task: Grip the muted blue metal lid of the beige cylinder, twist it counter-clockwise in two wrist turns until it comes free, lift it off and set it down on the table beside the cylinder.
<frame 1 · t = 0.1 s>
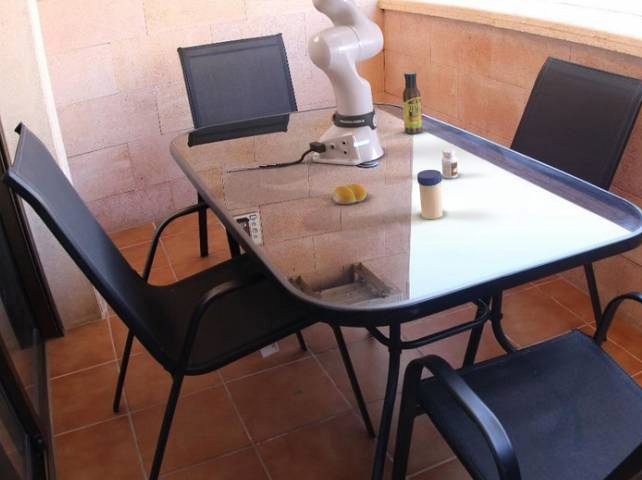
beige cylinder: (432, 214, 171), on the table
sauce bottle: (414, 132, 230), on the table
pill bottle: (450, 176, 193), on the table
bread roll: (349, 199, 182), on the table
lid: (429, 175, 165), point 11 cm above the table, screwed on, not yet turned
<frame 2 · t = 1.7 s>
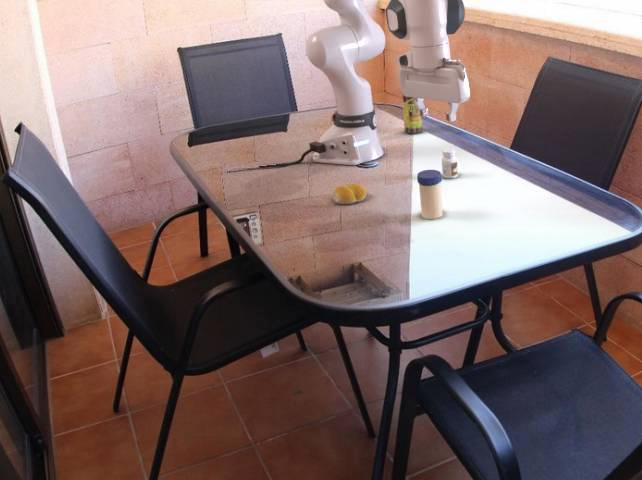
hand: (437, 118, 158), 25 cm above the table, tool pointing down, fingers open, 8 cm apart
nothing on the table moved.
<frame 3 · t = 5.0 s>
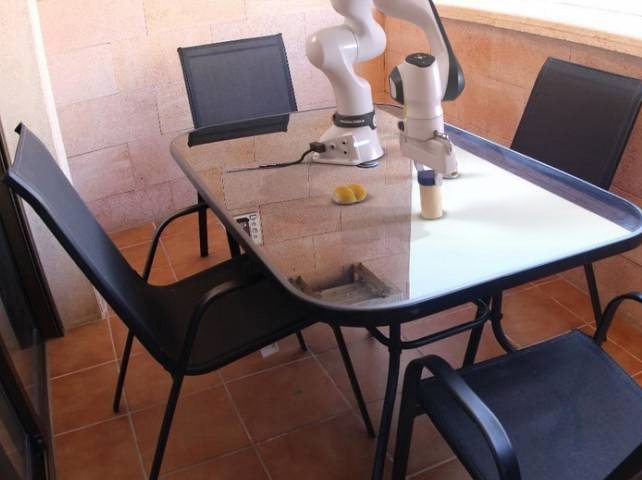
hand: (429, 181, 166), 9 cm above the table, tool pointing down, fingers closed on lid, 6 cm apart
lid: (429, 175, 165), point 11 cm above the table, screwed on, not yet turned, touching gripper
everything else where it was.
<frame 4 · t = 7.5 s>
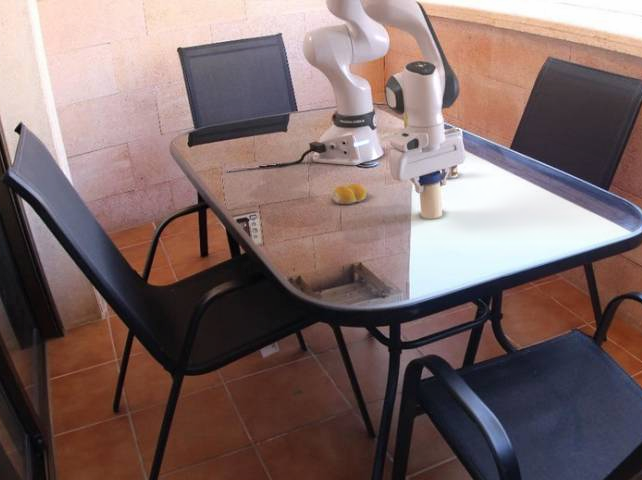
hand: (431, 188, 166), 7 cm above the table, tool pointing down, fingers closed on beige cylinder, 5 cm apart
beige cylinder: (431, 214, 171), on the table, touching gripper
lid: (428, 174, 165), point 11 cm above the table, turned 89° so far, risen 0.2 cm, still on its thread
everything else where it was.
when the fingers open (7 cm above the table, at t = 9.2 s): beige cylinder stays where it is, on the table.
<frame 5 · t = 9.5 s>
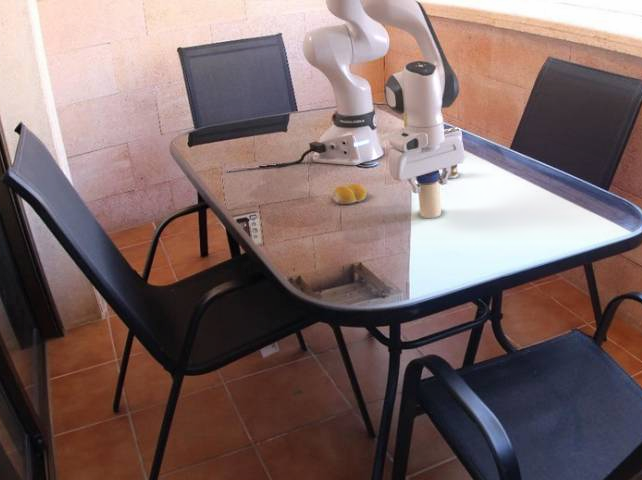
hand: (430, 188, 167), 7 cm above the table, tool pointing down, fingers open, 7 cm apart
beige cylinder: (430, 213, 171), on the table
everything else where it was.
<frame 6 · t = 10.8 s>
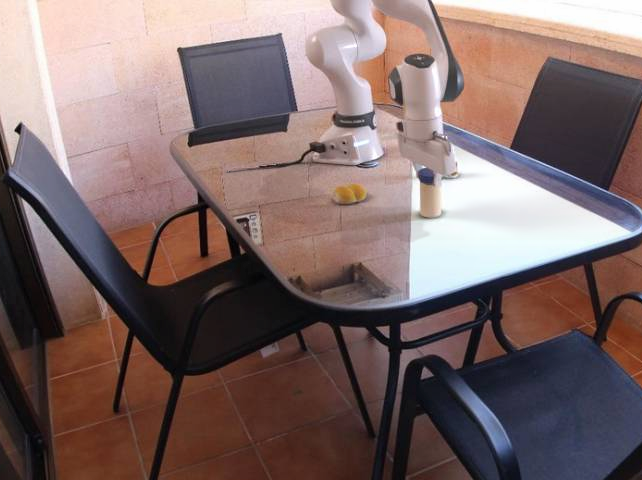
hand: (428, 182, 166), 9 cm above the table, tool pointing down, fingers closed on lid, 6 cm apart
lid: (430, 173, 165), point 11 cm above the table, turned 83° so far, risen 0.2 cm, still on its thread, touching gripper
everything else where it was.
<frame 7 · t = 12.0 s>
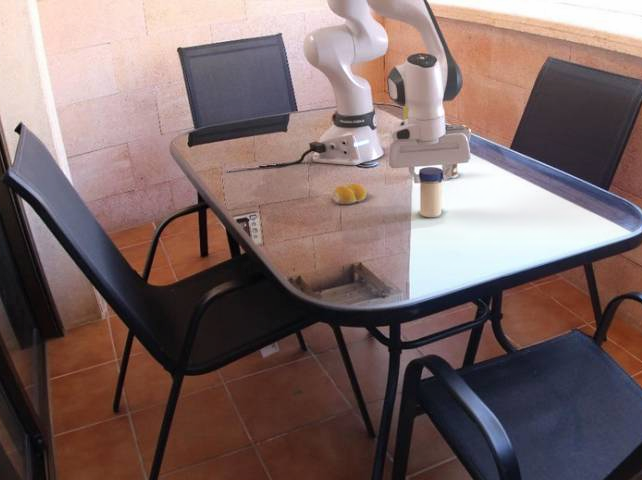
hand: (431, 181, 166), 9 cm above the table, tool pointing down, fingers closed on lid, 6 cm apart
lid: (431, 172, 165), point 11 cm above the table, off its thread, touching gripper
everything else where it was.
when the fingers open (0 cm above the table, at t = 19.1 s): lid stays where it is, point 1 cm above the table.
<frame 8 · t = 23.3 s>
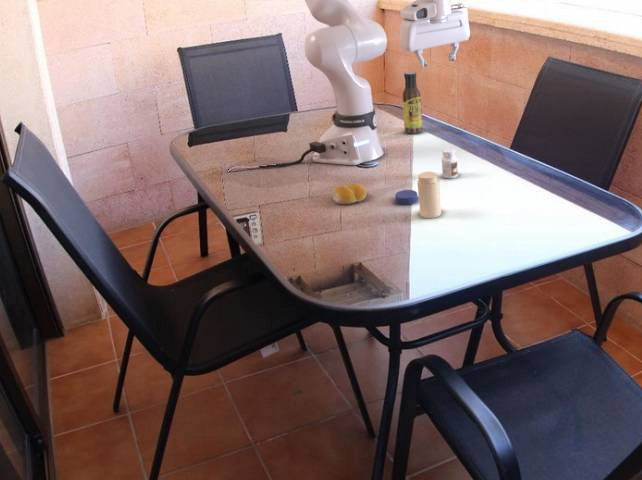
hand: (437, 63, 178), 31 cm above the table, tool pointing down, fingers open, 8 cm apart
lid: (406, 195, 178), point 1 cm above the table, off its thread
everything else where it was.
at the end: lid came off its thread; lid point 1.5 cm above the table; the gripper is holding nothing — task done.
